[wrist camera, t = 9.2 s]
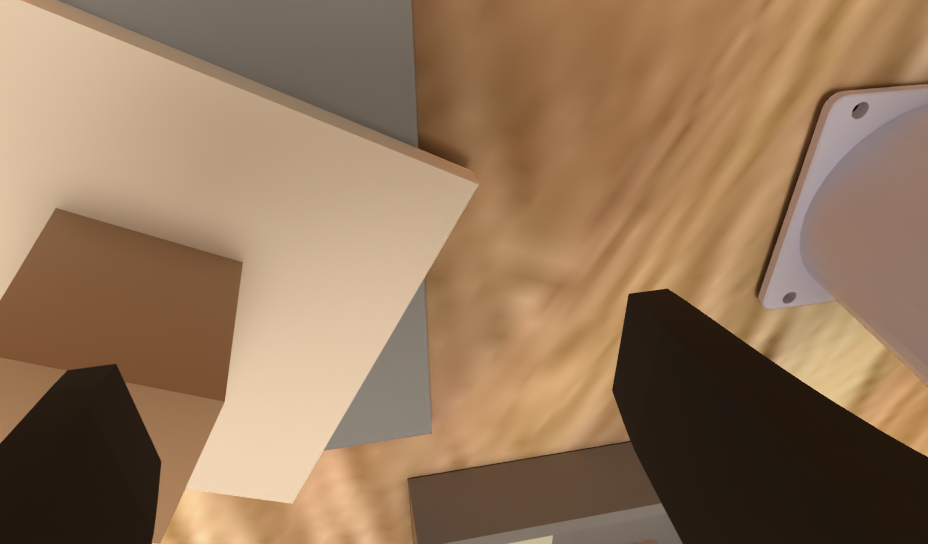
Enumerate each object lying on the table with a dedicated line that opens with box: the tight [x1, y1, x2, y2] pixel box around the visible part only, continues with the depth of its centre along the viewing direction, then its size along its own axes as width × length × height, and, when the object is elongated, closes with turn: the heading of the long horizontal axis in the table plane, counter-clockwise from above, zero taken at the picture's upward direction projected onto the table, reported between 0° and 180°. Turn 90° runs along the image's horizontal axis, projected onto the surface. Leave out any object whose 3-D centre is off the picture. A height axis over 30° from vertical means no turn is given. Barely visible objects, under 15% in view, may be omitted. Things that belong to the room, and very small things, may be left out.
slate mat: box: [58, 0, 432, 451], centre depth 18 cm, size 16×16×1 cm
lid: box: [0, 0, 479, 543], centre depth 16 cm, size 14×14×6 cm
